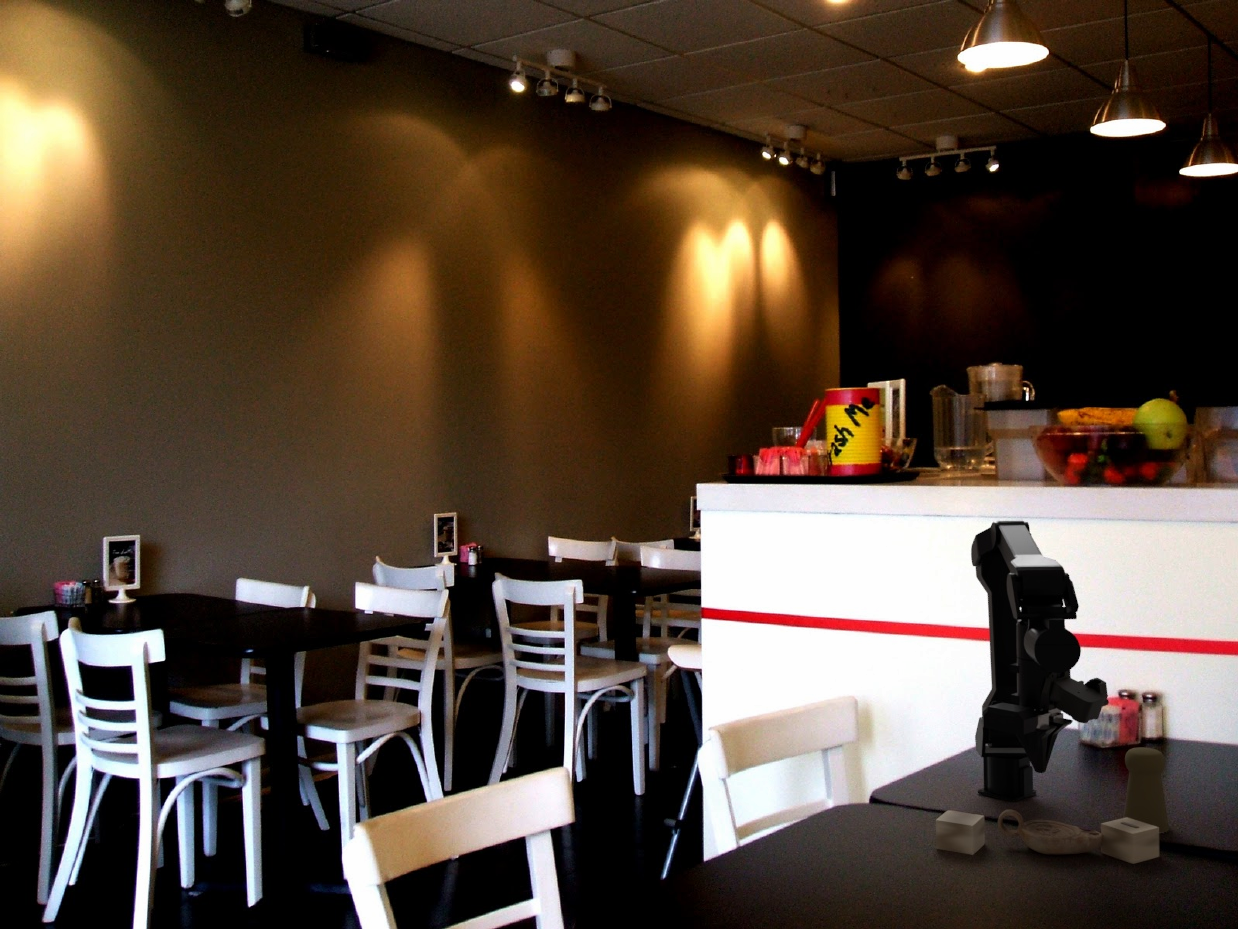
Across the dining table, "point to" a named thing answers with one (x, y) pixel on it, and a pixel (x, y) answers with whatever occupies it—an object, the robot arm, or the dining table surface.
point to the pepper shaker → (1146, 787)
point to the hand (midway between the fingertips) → (1040, 772)
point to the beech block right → (1130, 840)
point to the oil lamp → (1051, 835)
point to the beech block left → (960, 832)
